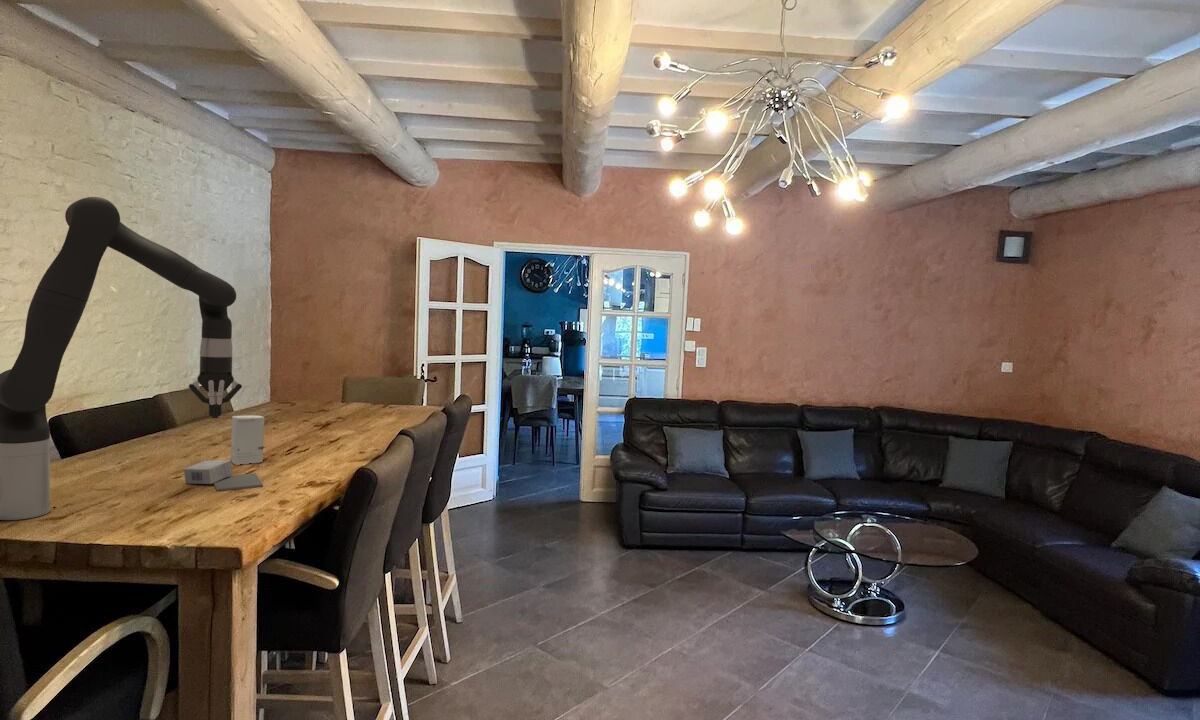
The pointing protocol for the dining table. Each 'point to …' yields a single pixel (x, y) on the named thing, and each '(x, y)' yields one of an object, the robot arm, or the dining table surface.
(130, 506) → the dining table surface
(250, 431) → the skincare box
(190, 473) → the medicine box
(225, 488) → the rubber mat
